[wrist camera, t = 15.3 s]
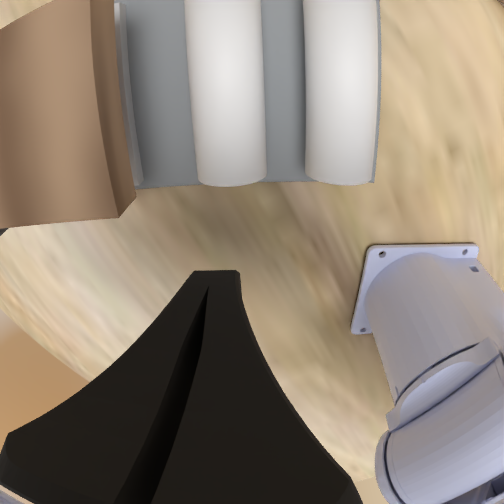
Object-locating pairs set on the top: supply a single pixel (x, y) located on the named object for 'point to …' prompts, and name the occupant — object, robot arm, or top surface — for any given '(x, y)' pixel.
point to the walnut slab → (62, 117)
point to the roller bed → (175, 91)
